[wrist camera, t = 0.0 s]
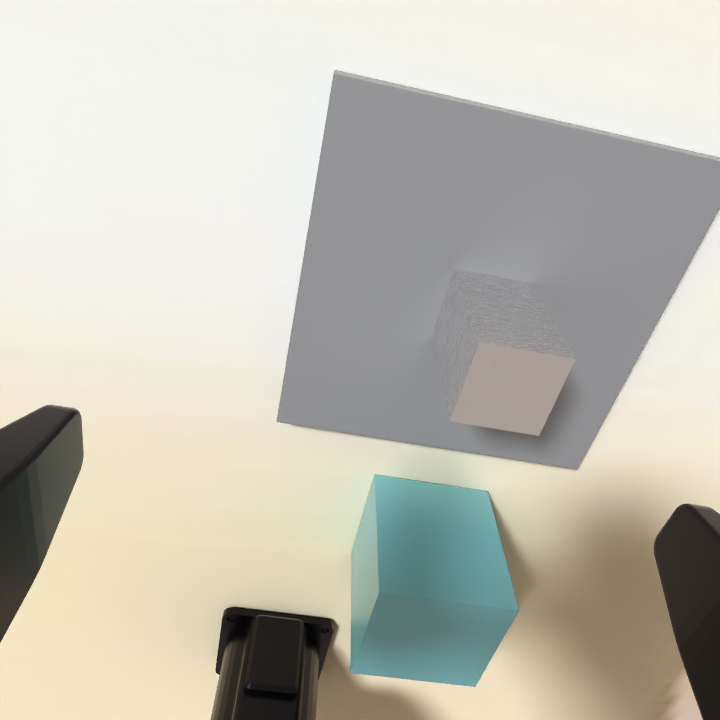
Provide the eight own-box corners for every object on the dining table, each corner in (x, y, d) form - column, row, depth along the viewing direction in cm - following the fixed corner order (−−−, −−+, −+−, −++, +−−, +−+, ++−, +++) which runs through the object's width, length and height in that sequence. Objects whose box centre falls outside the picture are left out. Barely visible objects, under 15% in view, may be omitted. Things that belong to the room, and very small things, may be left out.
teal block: (454, 566, 32) (475, 686, 26) (351, 552, 31) (350, 672, 26) (487, 491, 29) (519, 610, 23) (374, 474, 28) (379, 592, 23)
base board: (570, 454, 28) (577, 469, 27) (279, 408, 26) (276, 421, 25) (726, 159, 20) (742, 166, 20) (334, 70, 19) (333, 73, 18)
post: (503, 349, 23) (539, 435, 19) (431, 336, 23) (449, 421, 18) (530, 282, 22) (575, 359, 17) (453, 268, 21) (479, 341, 17)
